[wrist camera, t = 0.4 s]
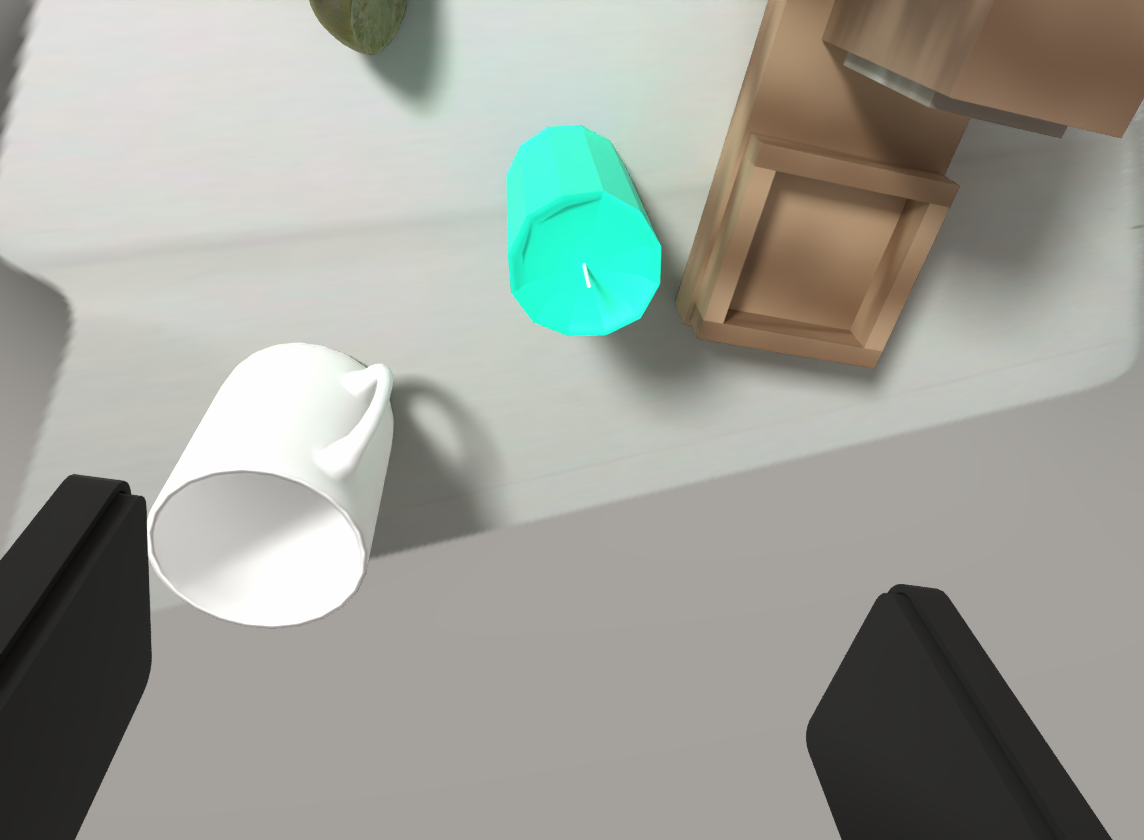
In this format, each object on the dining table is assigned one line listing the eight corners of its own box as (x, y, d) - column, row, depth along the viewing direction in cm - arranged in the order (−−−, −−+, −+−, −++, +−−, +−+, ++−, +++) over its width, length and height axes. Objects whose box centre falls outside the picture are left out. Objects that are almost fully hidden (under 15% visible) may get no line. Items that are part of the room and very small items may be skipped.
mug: (196, 436, 46) (114, 582, 36) (282, 266, 41) (213, 382, 31) (351, 503, 49) (314, 653, 40) (448, 353, 44) (433, 482, 35)
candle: (653, 182, 40) (703, 278, 30) (570, 268, 42) (591, 385, 32) (563, 95, 38) (585, 169, 28) (480, 192, 40) (472, 293, 30)
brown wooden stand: (829, -197, 32) (1025, -253, 20) (1049, -132, 34) (1351, -146, 22) (674, 303, 44) (741, 461, 32) (845, 333, 45) (971, 493, 33)
